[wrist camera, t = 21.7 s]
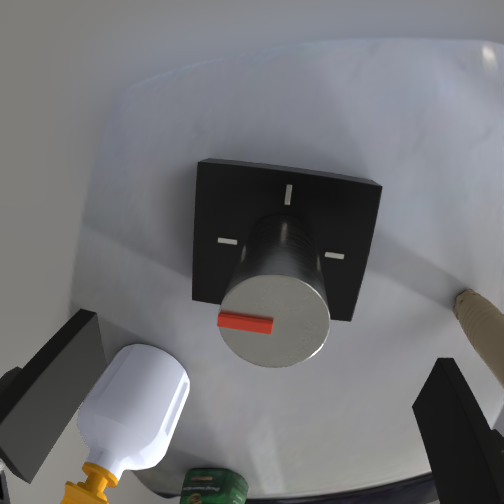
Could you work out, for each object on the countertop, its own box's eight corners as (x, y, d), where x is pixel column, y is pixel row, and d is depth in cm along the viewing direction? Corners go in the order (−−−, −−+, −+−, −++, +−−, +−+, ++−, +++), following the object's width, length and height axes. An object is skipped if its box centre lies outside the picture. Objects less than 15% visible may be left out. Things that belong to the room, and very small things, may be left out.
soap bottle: (202, 368, 32) (123, 589, 9) (175, 411, 36) (108, 585, 13) (127, 327, 32) (-4, 520, 9) (111, 376, 35) (14, 535, 12)
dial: (321, 219, 22) (342, 285, 13) (309, 283, 24) (317, 377, 14) (250, 209, 23) (219, 269, 13) (243, 274, 24) (214, 363, 15)
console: (372, 180, 24) (383, 186, 21) (346, 303, 28) (351, 323, 25) (208, 158, 25) (196, 161, 22) (201, 284, 29) (191, 301, 26)
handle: (476, 264, 25) (569, 358, 11) (489, 311, 26) (562, 408, 12) (436, 290, 26) (513, 403, 12) (453, 336, 28) (513, 444, 14)
